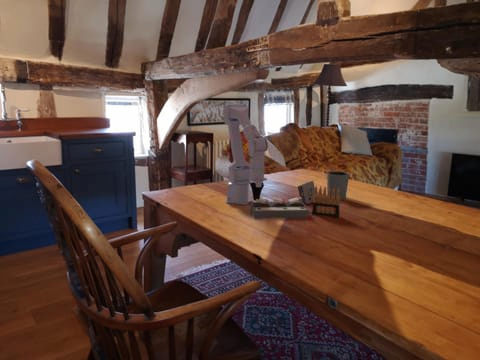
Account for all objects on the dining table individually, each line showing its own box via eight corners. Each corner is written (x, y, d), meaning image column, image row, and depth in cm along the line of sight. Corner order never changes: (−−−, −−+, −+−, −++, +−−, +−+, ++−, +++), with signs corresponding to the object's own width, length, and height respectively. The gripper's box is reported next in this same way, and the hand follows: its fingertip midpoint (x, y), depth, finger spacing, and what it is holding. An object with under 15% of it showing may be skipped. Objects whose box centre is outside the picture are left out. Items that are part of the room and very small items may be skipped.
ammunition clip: (311, 214, 149) (313, 186, 146) (312, 213, 150) (314, 185, 147) (338, 217, 145) (341, 188, 142) (339, 216, 147) (341, 187, 144)
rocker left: (255, 202, 148) (256, 199, 148) (254, 200, 151) (255, 197, 151) (267, 205, 148) (268, 201, 148) (266, 202, 152) (267, 199, 151)
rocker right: (290, 205, 149) (289, 201, 149) (289, 202, 152) (288, 199, 152) (302, 201, 149) (302, 198, 149) (300, 199, 152) (300, 196, 152)
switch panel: (253, 218, 143) (254, 209, 142) (250, 209, 155) (250, 201, 154) (308, 217, 145) (309, 209, 144) (301, 208, 156) (302, 200, 156)
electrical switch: (307, 205, 161) (306, 184, 160) (297, 203, 165) (296, 183, 163) (317, 200, 168) (316, 180, 167) (307, 199, 172) (306, 180, 170)
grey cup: (323, 199, 171) (325, 174, 168) (327, 193, 180) (329, 169, 177) (346, 201, 167) (348, 176, 164) (348, 196, 176) (350, 171, 173)
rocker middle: (272, 202, 148) (273, 198, 148) (271, 199, 151) (272, 196, 151) (284, 205, 149) (285, 201, 149) (283, 202, 152) (284, 199, 152)
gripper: (269, 171, 139) (268, 205, 142) (264, 164, 154) (263, 195, 157) (251, 171, 139) (250, 205, 142) (247, 164, 153) (247, 195, 156)
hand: (256, 200), depth 149 cm, fingers closed, pressing on rocker left
